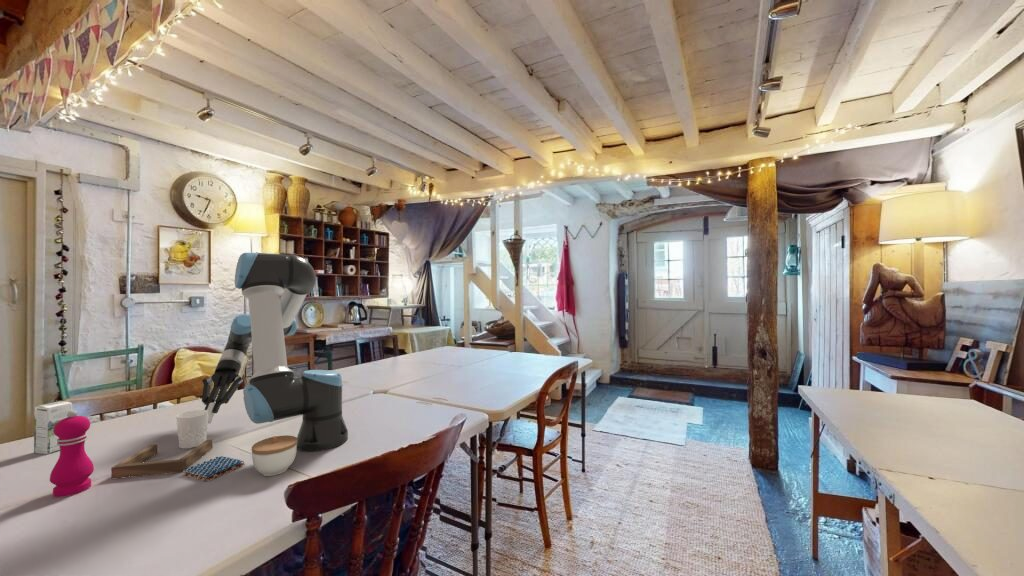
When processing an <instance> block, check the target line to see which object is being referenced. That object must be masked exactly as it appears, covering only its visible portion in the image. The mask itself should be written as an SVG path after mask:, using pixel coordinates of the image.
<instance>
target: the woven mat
mask: <svg viewBox="0 0 1024 576" xmlns="http://www.w3.org/2000/svg"><path fill="white" fill-rule="evenodd" d="M245 466H246V464H245V462H244V460H242V459H238V458H237V459H236V458H234V457H233V458H231V457H229V456H224V455H221V456H216V457H215V458H213V459H212V458H211V459H209V461H206V460H205V461H203V463H198V464H197V465H195V466H192V465H191V466H190V467H189V468H187V469H184V471H183V474H182V476H185V477H188V478H193V479H194V480H200V481H203V482H209V481H211V480H212V481H213V480H214V479H216V478H219V477H222V476H223V475H226V474H228V473H230V472H232V471H235V470H237V469H240V468H242V467H245Z"/></svg>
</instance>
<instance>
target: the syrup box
mask: <svg viewBox="0 0 1024 576" xmlns="http://www.w3.org/2000/svg"><path fill="white" fill-rule="evenodd" d="M72 410H73V403H72V402H70V401H66V400H65V401H64V400H63V401H62V400H60V401H59V400H58V401H54V402H50V403H45V404H40V405H37V406H34V415H33V416H34V418H33V419H34V421H33V422H34V423H33V425H34V426H33V427H34V428H33V429H34V431H33V435H34V436H33V453H34V454H41V455H42V454H43V455H49V454H52V453H56V452H60V446H58V445H57V439H59V437H57V436H56V435H55V434H54V427H55V425H56V424H57V423H58V422H59V421H60V420H62V419H65V418H67V413H68V412H69V411H72Z"/></svg>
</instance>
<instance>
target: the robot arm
mask: <svg viewBox="0 0 1024 576" xmlns="http://www.w3.org/2000/svg"><path fill="white" fill-rule="evenodd" d="M237 259H238V260H237V264H236V267H235V272H234V273H235V275H234V288H235V289H237V290H238V289H239V290H241V295H242V296H243V297H244V298H246V299H247V300H248V311H249V314H247V313H243V314H239V315H237V316H235V317H234V319H233V320H232V322H231V325H230V328H229V329H230V330H229V334H228V339H227V342H226V344H225V347H224V349H223V351H222V354H221V355H220V358H219V360H218V363H217V364H216V367H215V370H214V373H213V374H212V375H211V376H210V377H209V378H203V379H202V384H203V388H202V394H201V395H202V396H201V402H202V403H203V405H205V406H204V409H203V410H208V411H209V413H208V425H209V424H211V423H212V421H213V419H214V416H215V414H218V412H219V410H220V408H221V405H223V404H225V405H226V404H228V403H229V402H230V400H231V398H232V397H233V396H234V394H235V393H236V391H237V390H238V388H239V387H240V386H241V385H242V384H243V383H244V379H243V378H242V377H241V376H239V374H240V370H241V368H242V365H243V363H244V360H245V357H246V355H247V352H248V349H249V347H250V345H251V346H252V355H253V358H252V359H253V367H254V373H253V375H252V376H251V377H249V379H248V380H249V381H248V382H249V383H248V384H246V385H245V386H244V387H243V390H242V393H243V403H244V407H245V410H246V413H247V415H248V418H249V419H250V421H251V422H252V423H254V424H258V425H260V424H264V423H265V424H266V423H272V422H276V421H280V420H284V419H288V418H294V417H297V416H302V422H301V424H300V427H299V431H298V433H297V436H296V438H297V449H299V450H300V451H305V452H316V451H317V452H318V451H323V450H329V449H332V448H336V447H337V446H340V445H343V444H344V443H346V441H348V439H349V430H348V428H347V425H346V422H345V419H344V416H343V377H342V374H341V373H340V372H338V371H335V370H330V369H329V370H328V369H310V370H309V369H308V370H304V371H303V372H302V373H301V376H300V377H299V376H298V377H295V373H294V370H292V369H290V368H289V367H288V359H287V351H286V350H287V349H286V343H285V337H286V336H292V335H294V334H295V333H296V331H297V320H296V316H297V314H298V313H299V311H300V309H301V307H302V305H303V303H304V302H305V299H306V297H307V295H309V294H310V293H311V292H312V291H313V290H314V288H315V285H316V284H317V283H316V281H317V275H316V272H315V270H314V267H313V266H312V265H311V263H310V262H309V261H307V260H306V259H305V258H303V257H302V256H299V255H295V254H291V253H290V254H289V253H288V254H282V253H264V252H243V253H242V254H240V255H239V257H238V258H237ZM212 382H213V387H212V389H211V385H212Z"/></svg>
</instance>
